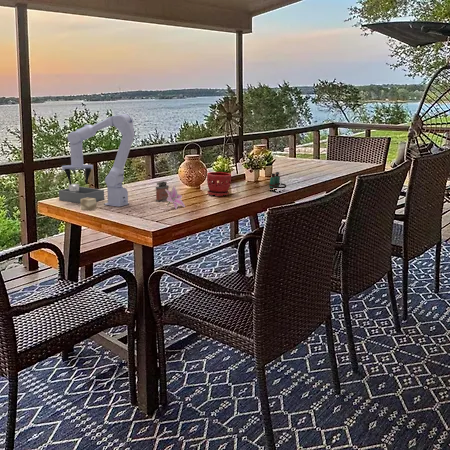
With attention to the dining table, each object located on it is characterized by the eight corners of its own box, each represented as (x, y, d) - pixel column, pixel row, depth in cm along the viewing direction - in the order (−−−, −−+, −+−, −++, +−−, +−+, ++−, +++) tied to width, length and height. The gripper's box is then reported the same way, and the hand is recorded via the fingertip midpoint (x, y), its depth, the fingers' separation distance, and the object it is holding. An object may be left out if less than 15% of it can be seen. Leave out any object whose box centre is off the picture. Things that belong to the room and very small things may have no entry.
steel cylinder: (80, 197, 266) (79, 183, 264) (78, 199, 261) (77, 185, 259) (70, 197, 265) (69, 183, 264) (68, 199, 261) (67, 185, 259)
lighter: (165, 199, 269) (165, 180, 266) (170, 199, 267) (170, 180, 264) (154, 201, 263) (154, 181, 260) (159, 202, 261) (158, 182, 258)
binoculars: (283, 176, 286) (267, 172, 291) (280, 194, 289) (265, 190, 294) (291, 174, 293) (275, 171, 298) (288, 192, 296) (273, 188, 301)
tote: (104, 199, 264) (103, 189, 263) (85, 204, 253) (85, 194, 252) (78, 195, 272) (78, 186, 271) (59, 200, 261) (58, 190, 260)
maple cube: (96, 208, 244) (95, 198, 243) (89, 210, 240) (88, 200, 239) (88, 207, 247) (87, 197, 245) (80, 209, 242) (80, 199, 241)
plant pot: (217, 198, 273) (217, 175, 270) (202, 194, 282) (202, 172, 279) (235, 195, 281) (236, 173, 278) (220, 191, 290) (220, 170, 287)
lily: (162, 212, 244) (171, 196, 240) (154, 198, 252) (163, 182, 248) (183, 217, 251) (192, 201, 247) (174, 203, 259) (183, 188, 256)
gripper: (61, 157, 245) (63, 186, 248) (93, 156, 250) (94, 184, 253) (60, 156, 251) (62, 183, 255) (91, 155, 256) (92, 182, 260)
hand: (78, 184), depth 254 cm, fingers open, 7 cm apart
